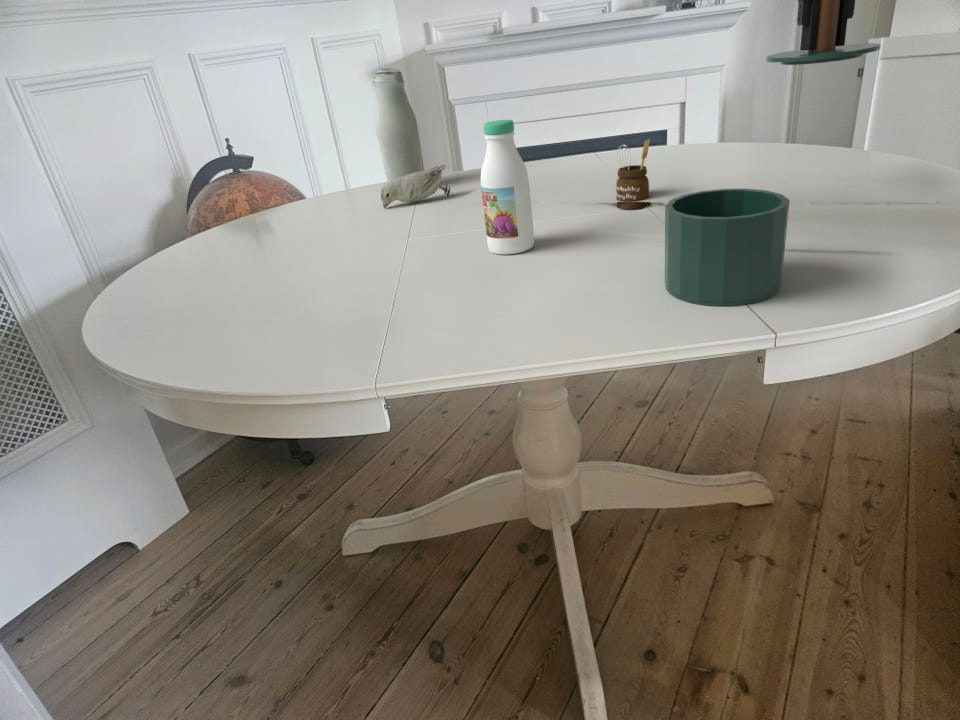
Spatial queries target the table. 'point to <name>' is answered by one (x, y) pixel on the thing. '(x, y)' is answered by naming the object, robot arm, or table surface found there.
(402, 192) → the decorative bird
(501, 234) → the milk bottle
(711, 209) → the canister
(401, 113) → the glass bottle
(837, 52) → the lid
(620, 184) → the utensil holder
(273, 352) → the table surface
